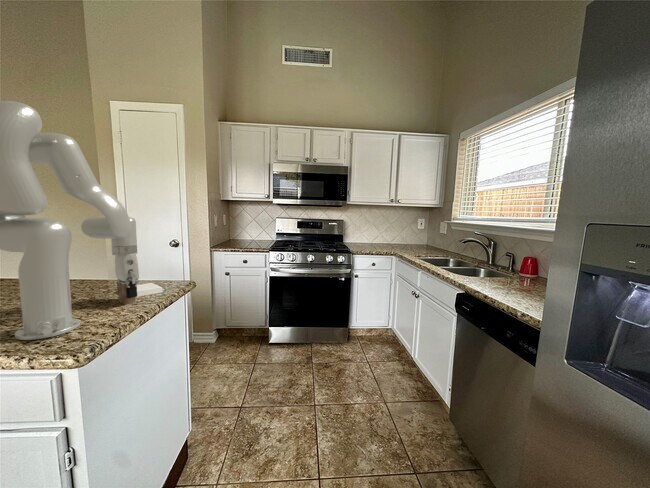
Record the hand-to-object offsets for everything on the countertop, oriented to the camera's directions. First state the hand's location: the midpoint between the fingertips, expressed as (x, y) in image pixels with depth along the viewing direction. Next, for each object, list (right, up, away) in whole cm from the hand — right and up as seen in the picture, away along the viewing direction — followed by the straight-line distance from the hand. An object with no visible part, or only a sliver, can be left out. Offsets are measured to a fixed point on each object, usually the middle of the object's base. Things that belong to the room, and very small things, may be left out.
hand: (127, 294), depth 99 cm
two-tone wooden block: (0, -3, 0) cm, 3 cm away
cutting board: (-3, -1, +12) cm, 13 cm away
